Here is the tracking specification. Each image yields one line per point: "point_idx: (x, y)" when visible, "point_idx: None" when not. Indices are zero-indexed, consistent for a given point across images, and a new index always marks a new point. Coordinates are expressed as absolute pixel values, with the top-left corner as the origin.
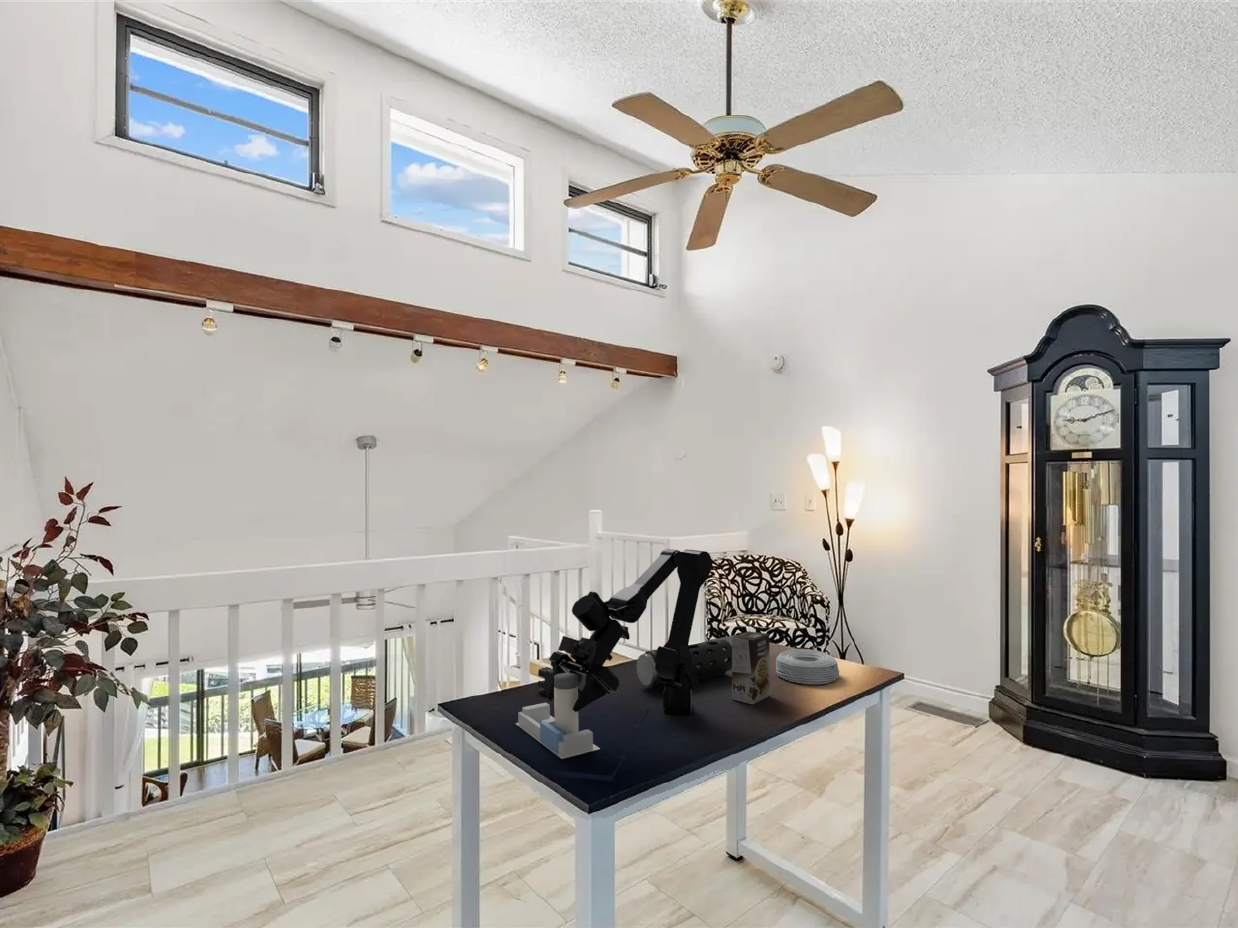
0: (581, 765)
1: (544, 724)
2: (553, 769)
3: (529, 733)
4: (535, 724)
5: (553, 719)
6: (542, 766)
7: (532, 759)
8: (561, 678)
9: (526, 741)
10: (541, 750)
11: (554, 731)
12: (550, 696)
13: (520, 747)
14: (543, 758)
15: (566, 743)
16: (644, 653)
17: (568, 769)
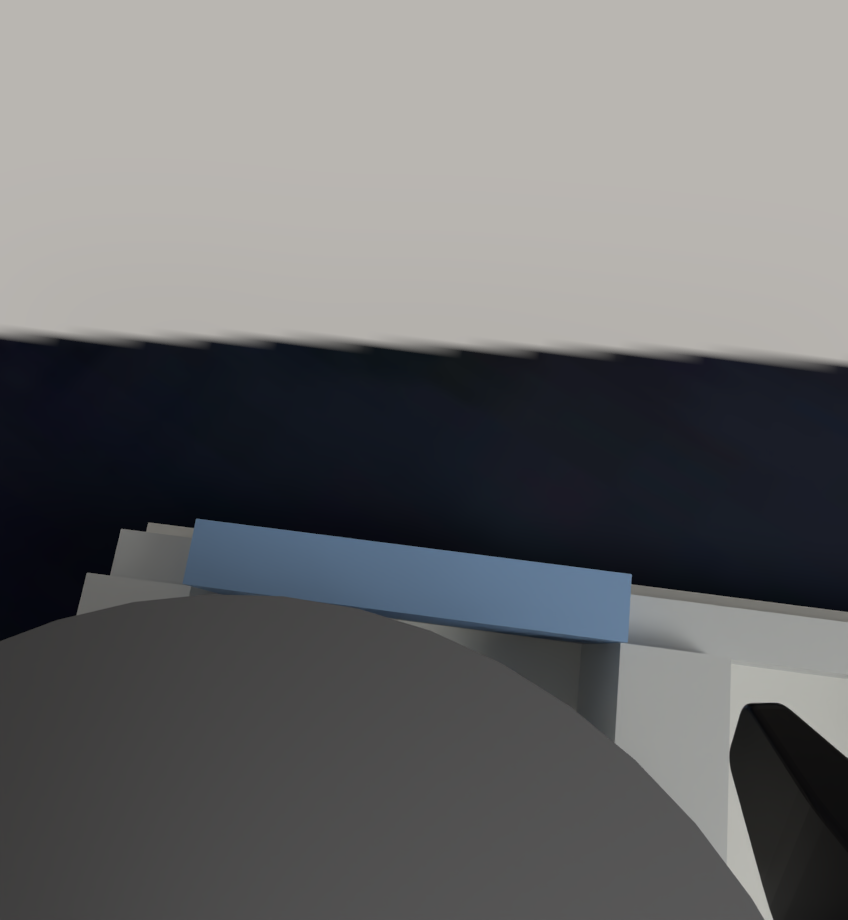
0: (4, 620)
1: (532, 570)
2: (112, 414)
3: (807, 613)
4: (763, 616)
5: (675, 798)
6: (211, 382)
7: (366, 391)
8: (51, 823)
9: (716, 542)
10: (468, 536)
11: (280, 540)
12: (765, 774)
13: (629, 439)
14: (324, 464)
15: (116, 574)
16: None
17: (28, 498)
